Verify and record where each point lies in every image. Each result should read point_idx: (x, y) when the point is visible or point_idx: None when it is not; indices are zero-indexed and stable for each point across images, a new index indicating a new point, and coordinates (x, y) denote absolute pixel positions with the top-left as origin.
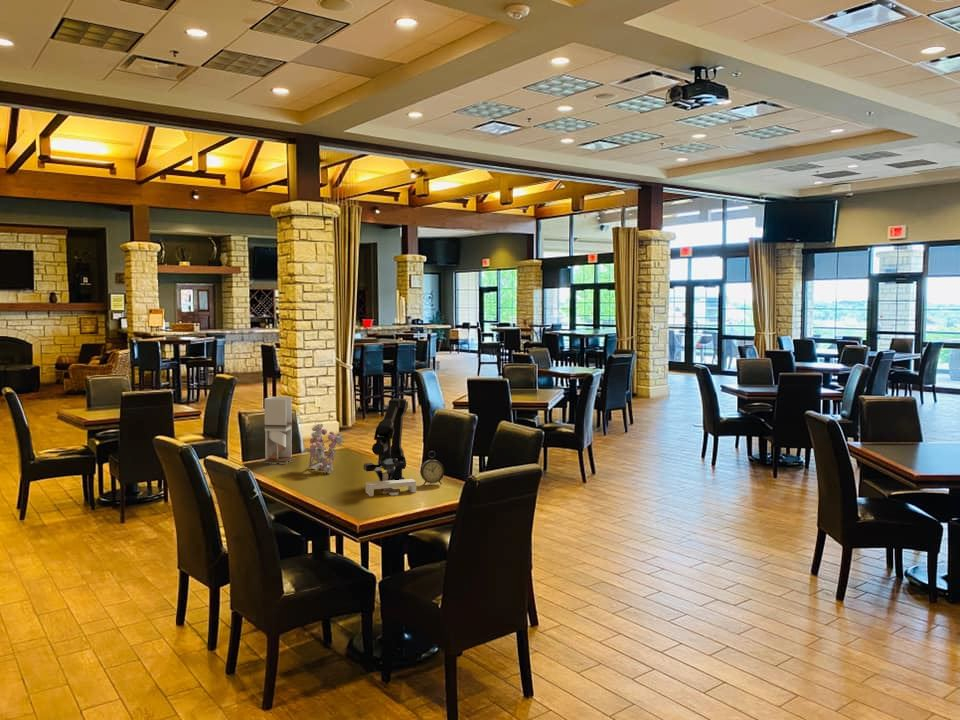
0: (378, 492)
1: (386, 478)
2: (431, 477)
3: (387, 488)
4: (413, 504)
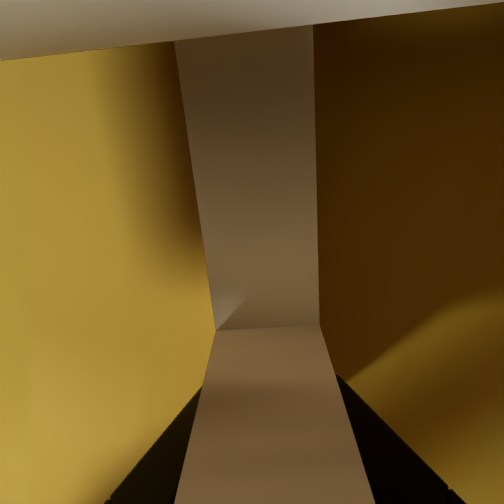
0: (478, 27)
1: (237, 450)
2: None
3: None
4: None
